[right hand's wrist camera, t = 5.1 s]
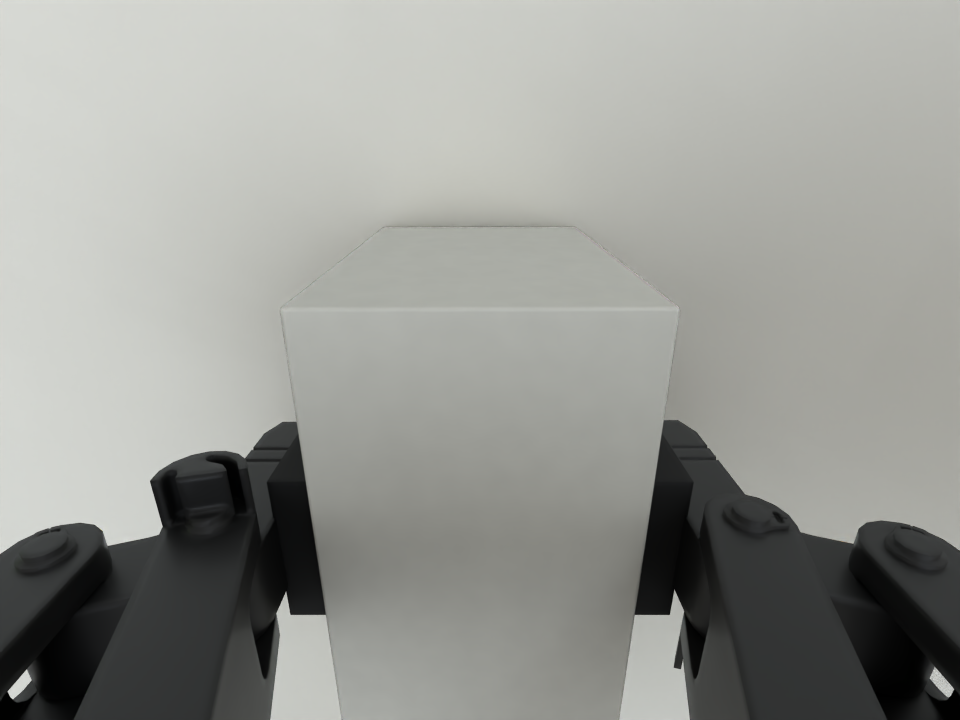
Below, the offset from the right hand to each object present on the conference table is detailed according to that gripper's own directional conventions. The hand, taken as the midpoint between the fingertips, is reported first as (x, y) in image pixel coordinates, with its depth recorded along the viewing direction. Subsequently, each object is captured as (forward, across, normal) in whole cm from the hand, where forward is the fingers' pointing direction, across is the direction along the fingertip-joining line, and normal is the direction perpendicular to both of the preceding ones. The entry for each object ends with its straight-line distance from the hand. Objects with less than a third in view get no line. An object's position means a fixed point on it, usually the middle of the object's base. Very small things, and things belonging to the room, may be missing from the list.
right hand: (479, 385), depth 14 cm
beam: (+1, 0, -25) cm, 25 cm away
